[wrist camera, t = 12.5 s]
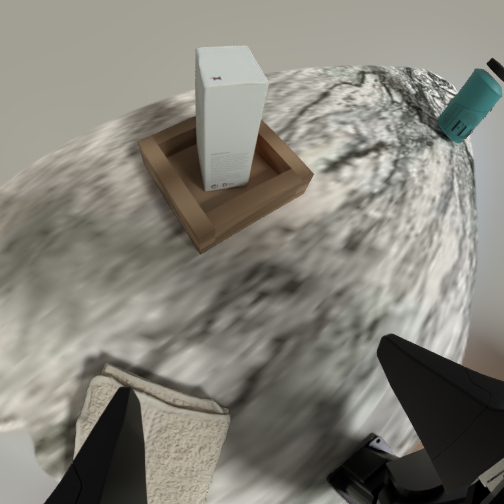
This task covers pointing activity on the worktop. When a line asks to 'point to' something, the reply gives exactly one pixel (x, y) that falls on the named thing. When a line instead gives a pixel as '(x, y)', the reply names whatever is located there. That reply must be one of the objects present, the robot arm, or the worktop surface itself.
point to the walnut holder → (224, 200)
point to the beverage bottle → (472, 103)
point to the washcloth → (164, 434)
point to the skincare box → (227, 113)
